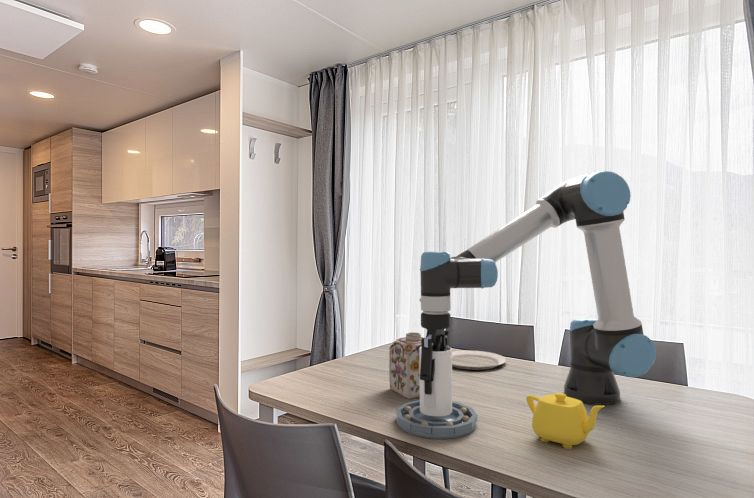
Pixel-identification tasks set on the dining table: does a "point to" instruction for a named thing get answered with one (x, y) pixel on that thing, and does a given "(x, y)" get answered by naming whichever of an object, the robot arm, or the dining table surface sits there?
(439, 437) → the tray
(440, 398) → the cup
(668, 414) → the dining table surface
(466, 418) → the beads
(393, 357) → the decorative jar
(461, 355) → the plate
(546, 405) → the teapot
